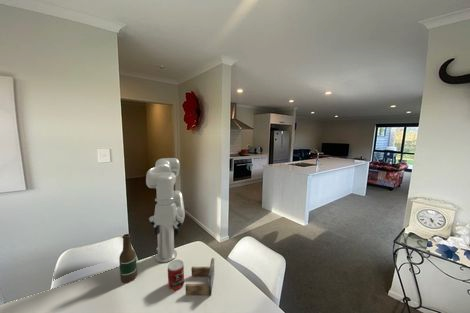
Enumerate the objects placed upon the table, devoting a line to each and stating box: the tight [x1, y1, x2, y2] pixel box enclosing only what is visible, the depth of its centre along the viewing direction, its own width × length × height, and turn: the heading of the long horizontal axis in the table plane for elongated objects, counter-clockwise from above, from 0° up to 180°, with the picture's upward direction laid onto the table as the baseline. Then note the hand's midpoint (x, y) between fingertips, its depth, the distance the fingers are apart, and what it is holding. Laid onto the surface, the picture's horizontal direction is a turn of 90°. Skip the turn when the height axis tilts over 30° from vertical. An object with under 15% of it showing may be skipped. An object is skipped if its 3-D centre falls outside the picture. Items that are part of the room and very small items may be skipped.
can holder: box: [185, 257, 215, 297], centre depth 98 cm, size 12×13×10 cm
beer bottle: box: [118, 233, 138, 284], centre depth 102 cm, size 8×8×24 cm
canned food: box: [167, 259, 185, 291], centre depth 98 cm, size 8×8×11 cm
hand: (167, 234), depth 95 cm, fingers open, 9 cm apart
